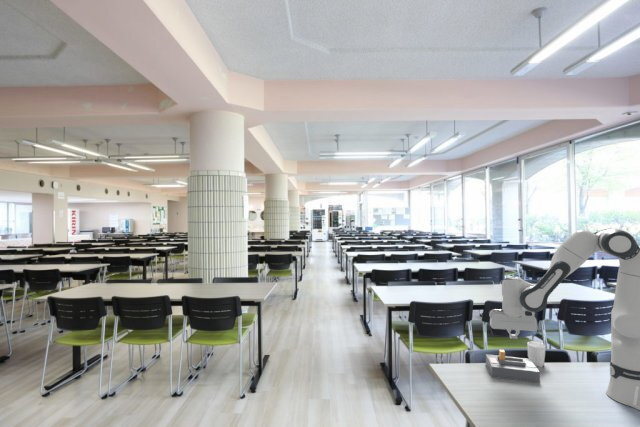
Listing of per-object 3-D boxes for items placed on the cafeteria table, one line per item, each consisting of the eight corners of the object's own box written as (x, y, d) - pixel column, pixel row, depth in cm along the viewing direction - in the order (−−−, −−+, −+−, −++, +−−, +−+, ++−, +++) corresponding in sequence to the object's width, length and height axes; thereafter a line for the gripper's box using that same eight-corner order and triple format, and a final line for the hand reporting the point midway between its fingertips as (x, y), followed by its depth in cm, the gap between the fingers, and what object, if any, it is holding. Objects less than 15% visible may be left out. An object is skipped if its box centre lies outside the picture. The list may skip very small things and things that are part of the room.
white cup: (530, 358, 177) (530, 340, 177) (547, 364, 171) (547, 344, 171) (524, 363, 172) (524, 344, 172) (542, 368, 166) (542, 348, 166)
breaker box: (529, 368, 166) (529, 355, 166) (539, 382, 153) (539, 368, 153) (485, 363, 172) (485, 351, 172) (492, 377, 158) (492, 363, 158)
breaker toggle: (503, 359, 165) (503, 349, 165) (505, 362, 162) (505, 352, 162) (499, 359, 165) (499, 349, 165) (500, 362, 162) (500, 351, 162)
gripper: (490, 310, 162) (491, 339, 162) (538, 313, 156) (539, 342, 156) (487, 307, 168) (488, 334, 168) (533, 309, 162) (534, 337, 162)
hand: (513, 338), depth 162 cm, fingers closed
